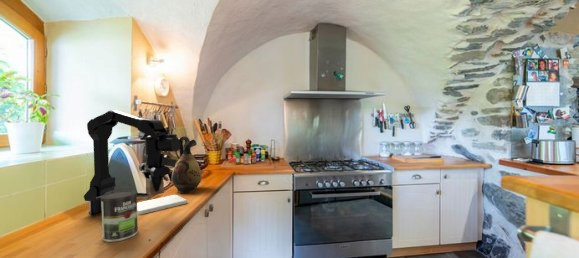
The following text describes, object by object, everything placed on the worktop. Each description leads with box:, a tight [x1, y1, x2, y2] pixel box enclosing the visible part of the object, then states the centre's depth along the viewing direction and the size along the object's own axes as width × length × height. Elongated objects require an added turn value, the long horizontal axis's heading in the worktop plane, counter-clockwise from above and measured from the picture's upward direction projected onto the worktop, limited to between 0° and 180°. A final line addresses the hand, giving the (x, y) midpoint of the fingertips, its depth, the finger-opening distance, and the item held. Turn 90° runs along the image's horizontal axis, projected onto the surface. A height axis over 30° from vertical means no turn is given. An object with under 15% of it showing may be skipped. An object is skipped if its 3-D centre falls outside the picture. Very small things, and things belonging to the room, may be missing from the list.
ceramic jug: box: [171, 135, 203, 194], centre depth 143 cm, size 17×15×30 cm
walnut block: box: [145, 177, 165, 196], centre depth 104 cm, size 5×5×6 cm
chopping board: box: [137, 194, 188, 216], centre depth 119 cm, size 20×13×2 cm, turn 135°
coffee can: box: [101, 189, 139, 243], centre depth 88 cm, size 10×10×14 cm
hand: (154, 189), depth 104 cm, fingers closed on walnut block, 5 cm apart
